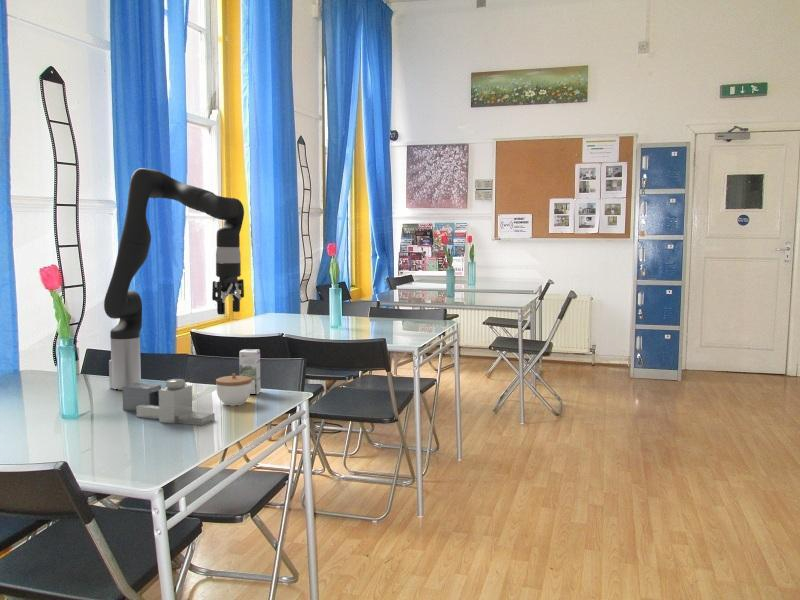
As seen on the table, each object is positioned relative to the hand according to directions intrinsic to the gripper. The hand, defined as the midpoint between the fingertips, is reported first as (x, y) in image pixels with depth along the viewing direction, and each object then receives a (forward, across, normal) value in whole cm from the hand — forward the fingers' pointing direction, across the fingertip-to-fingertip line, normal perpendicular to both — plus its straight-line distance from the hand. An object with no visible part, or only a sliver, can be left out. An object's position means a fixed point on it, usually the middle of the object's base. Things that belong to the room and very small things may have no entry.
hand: (228, 313), depth 213 cm
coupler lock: (+28, +21, -17) cm, 38 cm away
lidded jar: (+28, +6, +6) cm, 29 cm away
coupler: (+27, +28, 0) cm, 39 cm away
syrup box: (+28, -8, +3) cm, 29 cm away
